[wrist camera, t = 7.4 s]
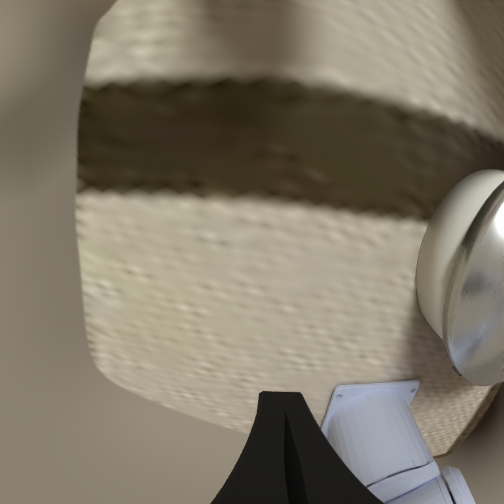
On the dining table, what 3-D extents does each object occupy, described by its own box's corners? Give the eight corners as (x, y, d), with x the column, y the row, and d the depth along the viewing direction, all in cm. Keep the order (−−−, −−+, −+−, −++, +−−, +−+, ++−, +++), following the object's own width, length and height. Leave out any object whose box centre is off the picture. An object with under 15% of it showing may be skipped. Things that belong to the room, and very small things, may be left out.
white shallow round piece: (502, 342, 21) (527, 367, 17) (390, 354, 21) (411, 391, 17) (546, 175, 16) (581, 184, 12) (435, 132, 16) (477, 130, 12)
